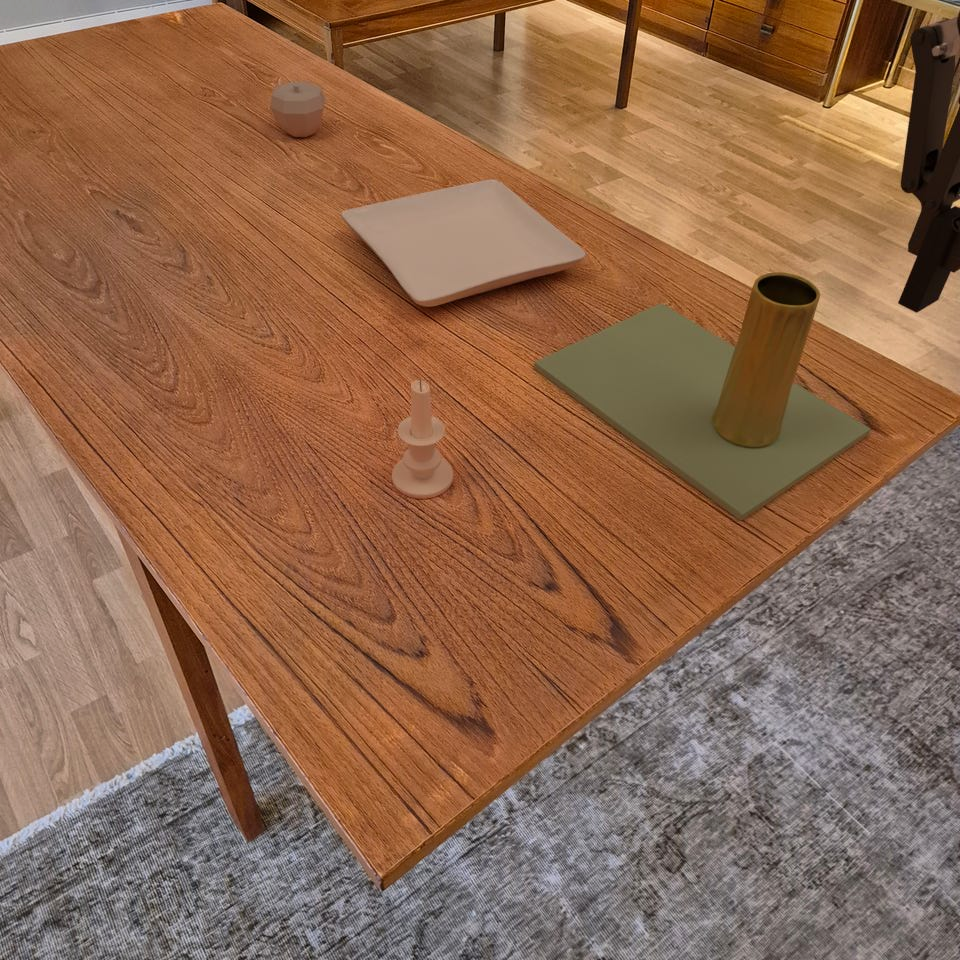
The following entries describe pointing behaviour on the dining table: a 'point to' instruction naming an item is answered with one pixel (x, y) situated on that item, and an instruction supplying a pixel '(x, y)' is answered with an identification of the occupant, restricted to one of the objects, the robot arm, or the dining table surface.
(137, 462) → the dining table surface
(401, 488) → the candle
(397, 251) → the plate
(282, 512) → the dining table surface
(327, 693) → the dining table surface
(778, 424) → the fluted gold cylinder
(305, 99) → the apple
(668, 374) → the mat
